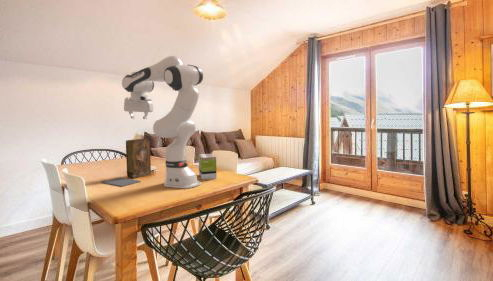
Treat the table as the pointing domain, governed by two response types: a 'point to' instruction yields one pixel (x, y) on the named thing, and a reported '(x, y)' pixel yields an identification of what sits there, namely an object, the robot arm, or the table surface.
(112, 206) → the table surface
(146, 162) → the book
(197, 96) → the robot arm
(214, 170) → the tea box
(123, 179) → the mat
